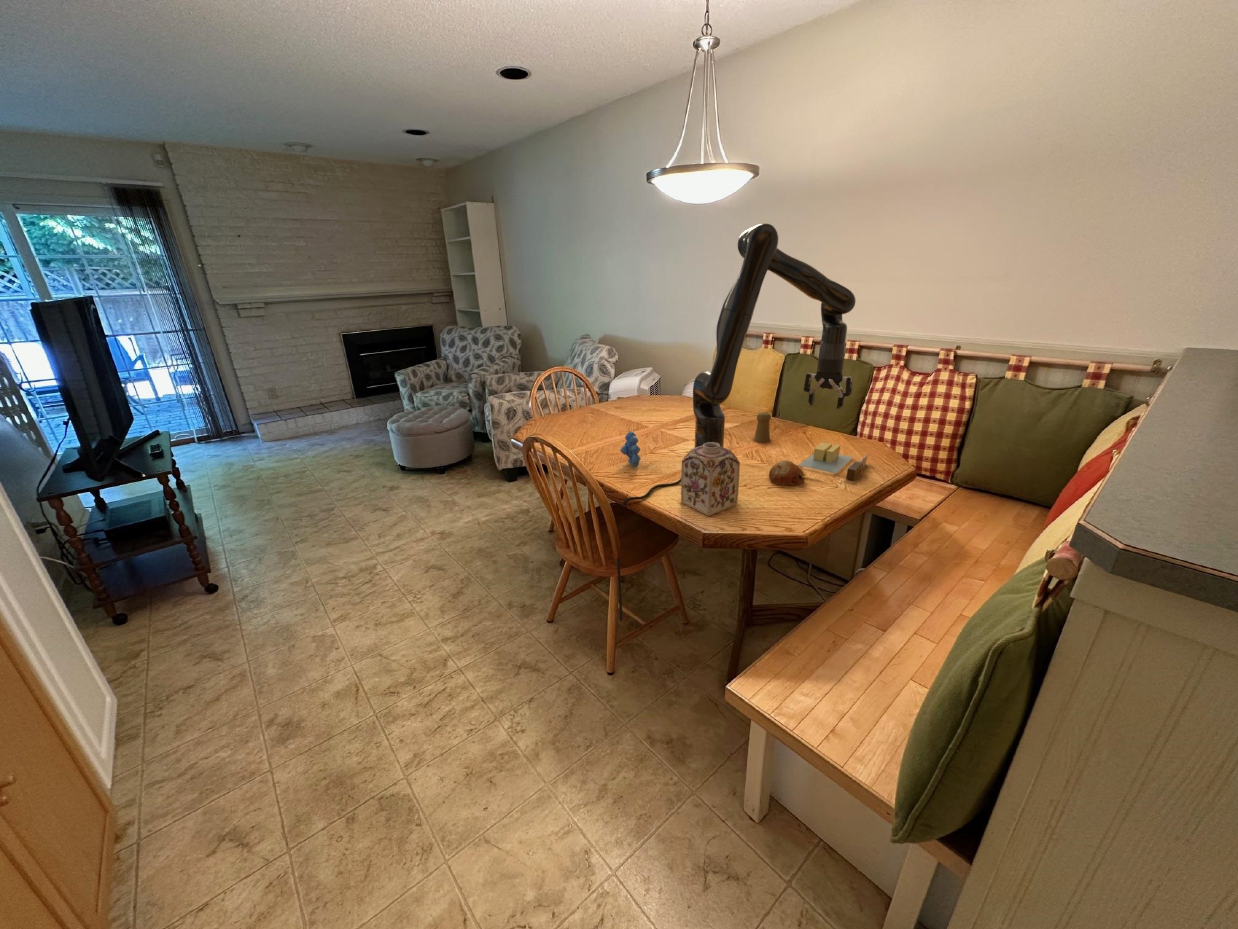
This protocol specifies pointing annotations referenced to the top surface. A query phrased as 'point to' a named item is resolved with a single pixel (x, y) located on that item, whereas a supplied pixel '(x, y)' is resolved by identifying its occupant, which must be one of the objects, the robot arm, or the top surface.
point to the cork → (762, 428)
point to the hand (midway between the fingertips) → (825, 406)
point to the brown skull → (786, 474)
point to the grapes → (631, 449)
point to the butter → (821, 451)
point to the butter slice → (832, 453)
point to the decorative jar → (710, 479)
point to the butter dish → (826, 463)
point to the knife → (856, 469)
